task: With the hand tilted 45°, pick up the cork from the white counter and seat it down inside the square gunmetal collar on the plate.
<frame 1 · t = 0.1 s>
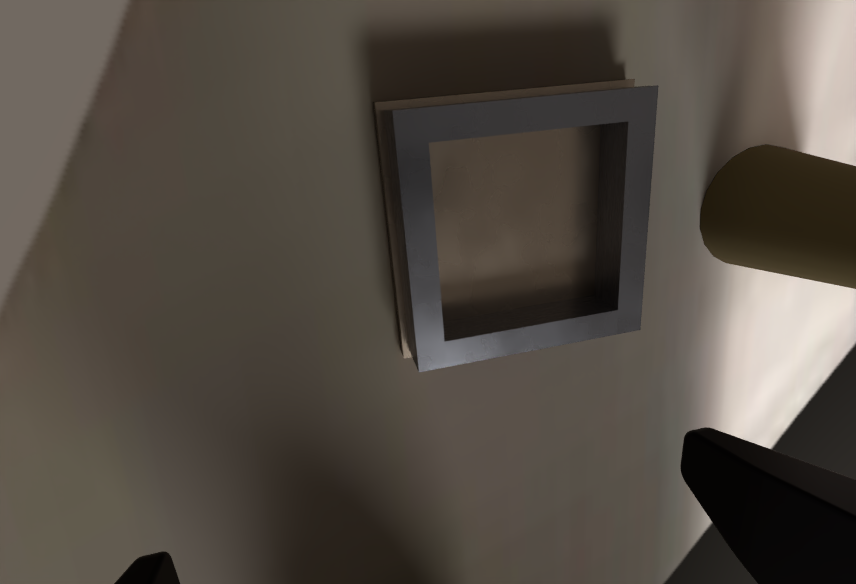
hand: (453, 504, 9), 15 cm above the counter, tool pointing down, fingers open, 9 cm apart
socket block: (509, 221, 23), on the counter
cork: (749, 206, 26), on the counter
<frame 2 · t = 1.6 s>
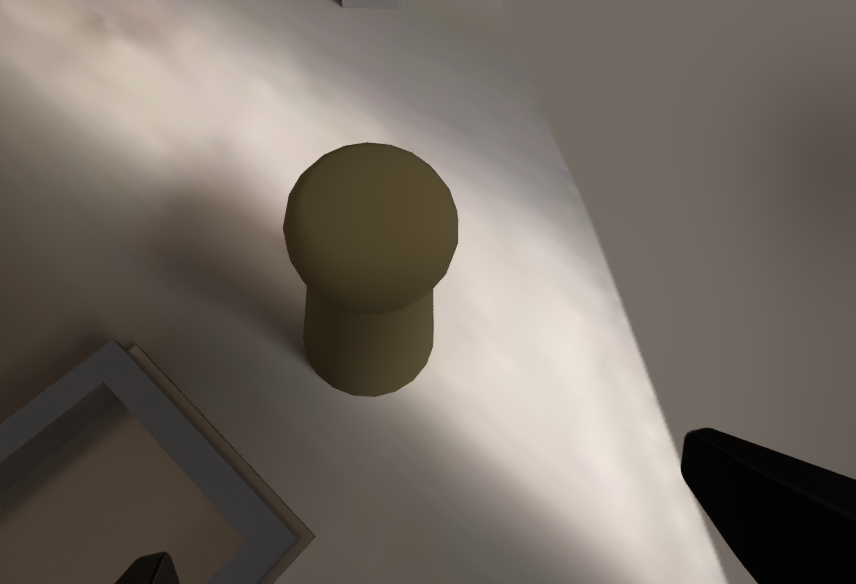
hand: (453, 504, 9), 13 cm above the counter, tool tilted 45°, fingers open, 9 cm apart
socket block: (103, 548, 19), on the counter
cork: (369, 333, 24), on the counter
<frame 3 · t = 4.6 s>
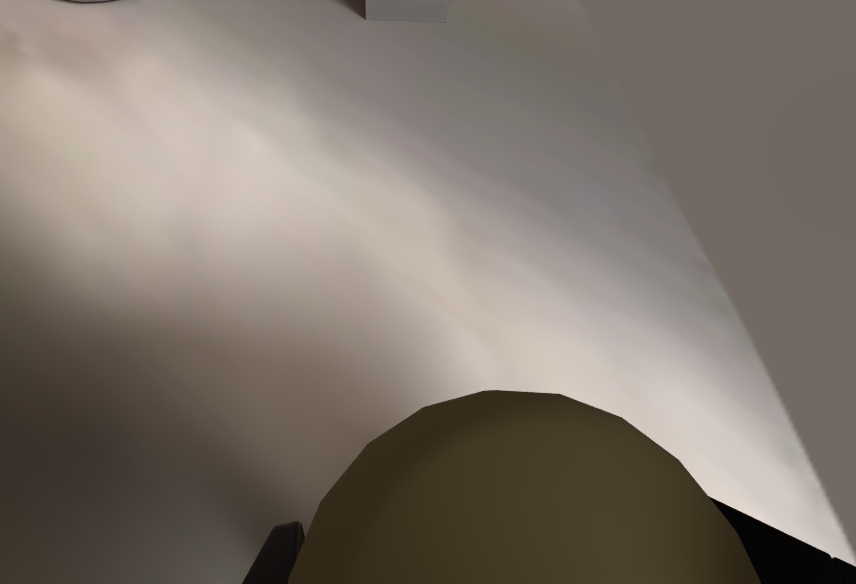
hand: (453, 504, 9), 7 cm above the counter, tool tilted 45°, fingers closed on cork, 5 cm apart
cork: (427, 569, 14), on the counter, touching gripper
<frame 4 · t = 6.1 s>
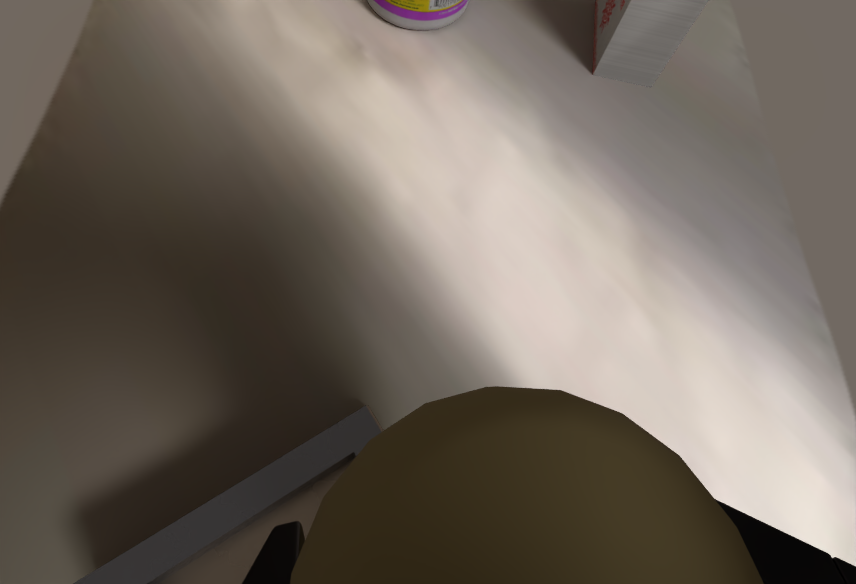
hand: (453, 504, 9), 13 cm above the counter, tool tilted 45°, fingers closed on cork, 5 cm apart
white gabled carton: (620, 46, 33), on the counter
supplement bottle: (415, 1, 32), on the counter
cork: (430, 565, 14), point 6 cm above the counter, touching gripper
when the fingers open (8 cm above the counter, at t = 7.7 s): cork drops 1 cm, resting on socket block.
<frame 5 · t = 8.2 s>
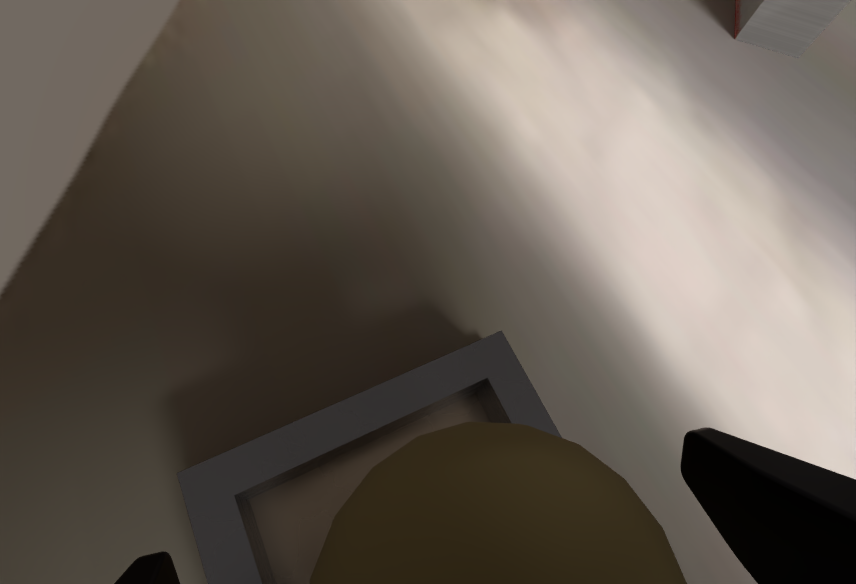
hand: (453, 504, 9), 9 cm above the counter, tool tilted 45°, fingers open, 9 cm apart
white gabled carton: (763, 15, 31), on the counter
socket block: (420, 565, 16), on the counter
cork: (424, 569, 16), resting on socket block
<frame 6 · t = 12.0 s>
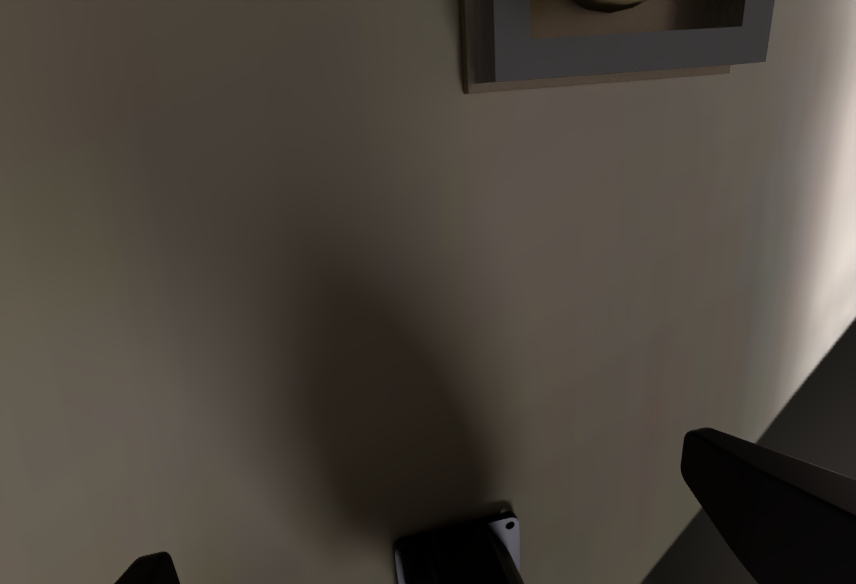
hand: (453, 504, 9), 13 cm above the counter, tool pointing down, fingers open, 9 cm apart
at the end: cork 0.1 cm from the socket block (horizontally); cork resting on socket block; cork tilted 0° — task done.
